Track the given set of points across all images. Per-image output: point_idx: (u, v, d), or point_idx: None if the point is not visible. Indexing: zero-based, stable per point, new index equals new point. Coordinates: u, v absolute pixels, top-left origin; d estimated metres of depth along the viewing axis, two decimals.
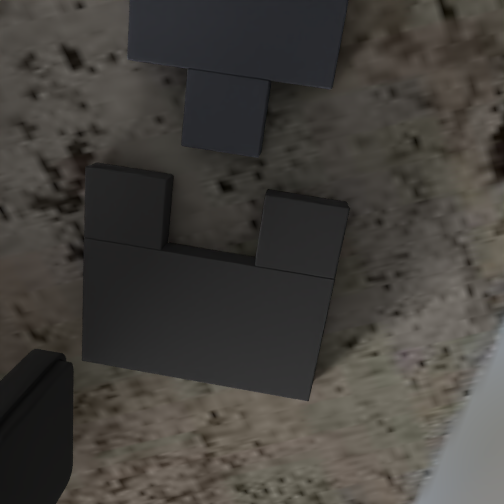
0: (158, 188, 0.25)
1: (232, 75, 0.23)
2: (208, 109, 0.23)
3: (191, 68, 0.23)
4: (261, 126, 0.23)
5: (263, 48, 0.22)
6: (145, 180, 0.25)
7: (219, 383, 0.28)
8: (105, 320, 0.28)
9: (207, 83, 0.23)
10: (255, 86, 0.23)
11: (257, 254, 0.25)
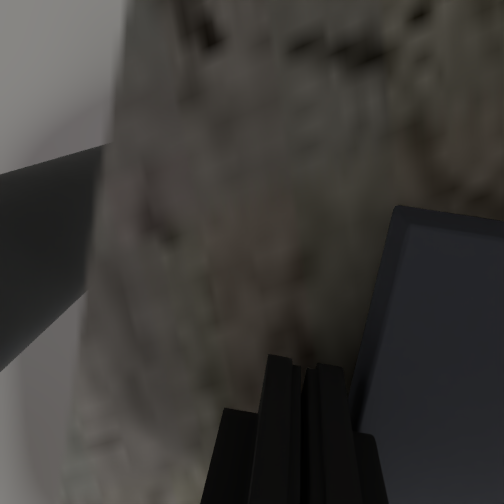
0: None
1: None
2: None
3: None
4: None
5: None
6: None
7: None
8: None
9: None
10: None
11: None
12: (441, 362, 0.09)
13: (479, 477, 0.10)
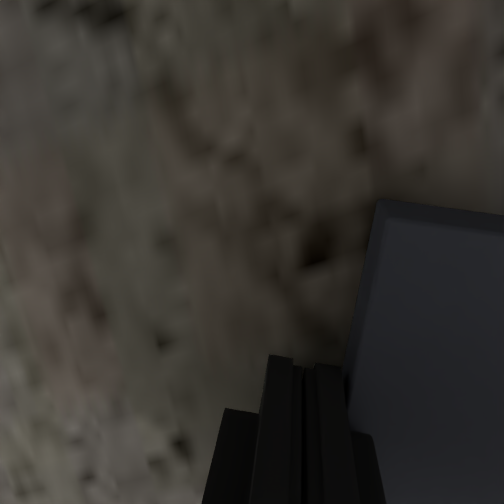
0: None
1: None
2: None
3: None
4: None
5: None
6: None
7: None
8: None
9: None
10: None
11: None
12: (425, 358, 0.09)
13: (468, 475, 0.10)
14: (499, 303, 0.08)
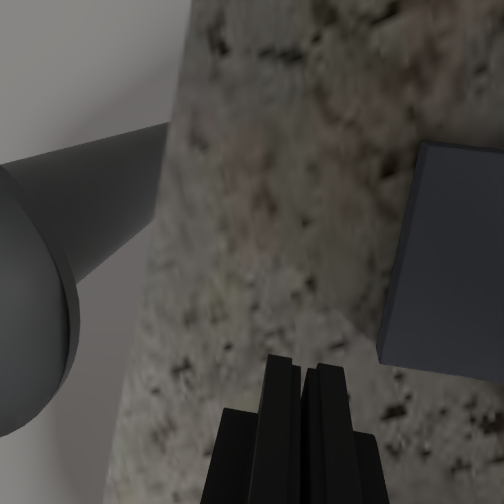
0: None
1: None
2: None
3: None
4: None
5: None
6: None
7: None
8: None
9: None
10: None
11: None
12: (445, 212, 0.19)
13: (466, 274, 0.20)
14: (479, 183, 0.18)
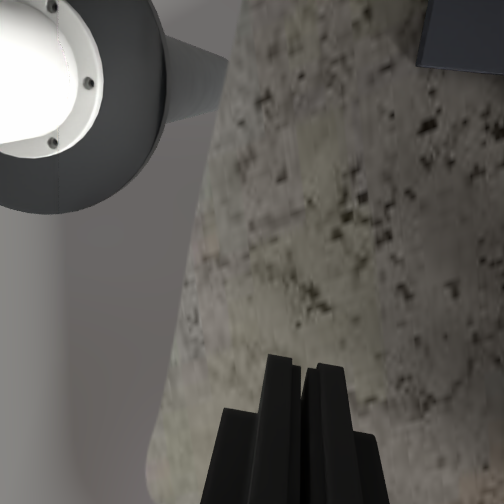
0: None
1: None
2: None
3: None
4: None
5: None
6: None
7: None
8: None
9: None
10: None
11: None
12: None
13: None
14: None
